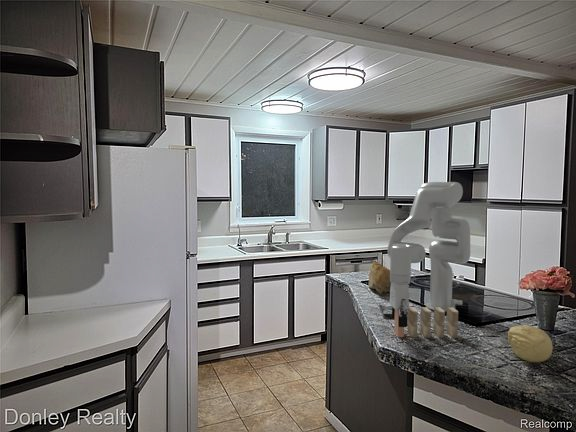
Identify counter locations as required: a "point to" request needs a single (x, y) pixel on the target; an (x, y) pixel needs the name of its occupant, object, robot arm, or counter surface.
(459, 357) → the counter surface
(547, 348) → the yellow oval melon
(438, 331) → the domino
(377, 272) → the rough brown rock
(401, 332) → the domino
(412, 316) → the domino
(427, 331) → the domino
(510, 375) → the counter surface
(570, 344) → the counter surface
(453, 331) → the domino
